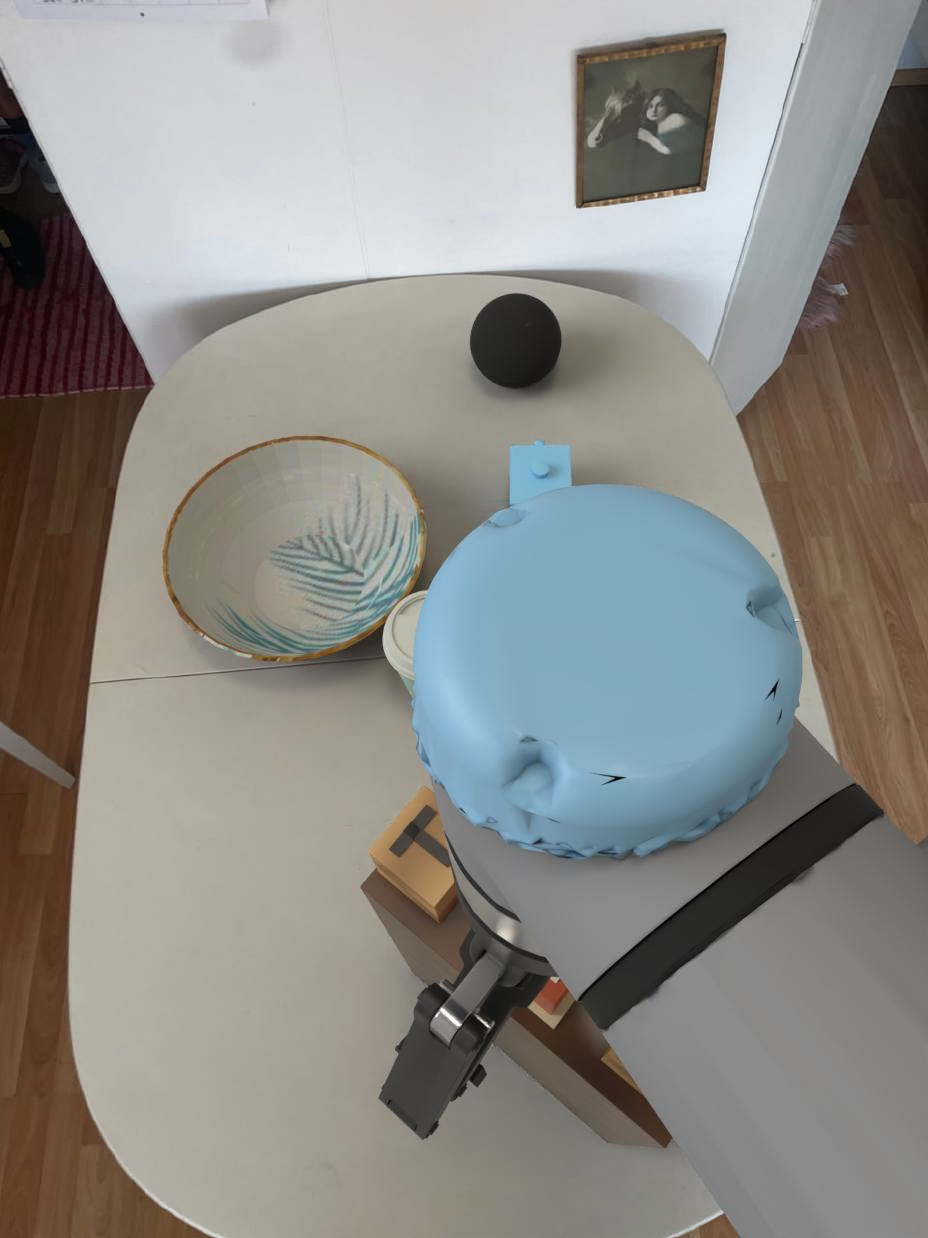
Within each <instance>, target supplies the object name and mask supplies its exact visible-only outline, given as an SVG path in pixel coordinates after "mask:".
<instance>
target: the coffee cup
mask: <svg viewBox="0 0 928 1238" xmlns="http://www.w3.org/2000/svg"><path fill="white" fill-rule="evenodd" d="M427 592H428V589H425V590H420V591H415V592H414V593H411V594H409V595H408V596H407V597H406V598H404V599H403V600H402V601H400V602H399V603H398V604H397V605H396V607H395V608H394V609H393V611H392V612H391V614H390V615H389V617H388V619H387V621H386V622H385V623H384V627H383V632H382V647H383V652H384V654H385V657H386V659H387V662H389V664H390V665H391V666H392V667H393V669H394V670H395V671H396V672H398V674H399V676H400V678H401V680H402V682H403V684H404V685H405V687H406V689H407V691H408V692H409V694H410V696H411V698H412V700H413V699H414V697H415V696H416V694H415V692H414V691H413V687H414V682H415V676H414V663H413V648H414V639H415V632H416V627H417V623H418V619H419V615H420V611H421V608H422V605H423V602H424V600H425V597H426V595H427Z"/></svg>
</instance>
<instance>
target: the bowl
mask: <svg viewBox="0 0 928 1238" xmlns="http://www.w3.org/2000/svg"><path fill="white" fill-rule="evenodd" d="M427 533H428V530H427V524H426V518H425V512H424V509H423V506H422V503H421V502H420V500H419V497H418V495H417V493H416V489H415V488H414V487H413V486H412V484H411V483H410V482H409V480H408V479H407V477H406V476H405V475H404V474H403V472H402V471H401V470H399V468H398V467H396V466H395V465H394V464H392V462H391V461H389V460H388V459H387V458H386V457H384V456H383V455H381V454H378V453H377V452H376V451H373V450H372V449H370V448H369V447H366V446H363V445H361V444H358V443H355V442H351V441H349V440H347V439H342V438H338V437H337V438H336V437H331V436H325V435H294V436H286V437H281V438H275V439H270V440H266V441H263V442H261V443H257V444H254V445H251V446H248V447H246V448H244V449H242V450H240V451H238V452H236V453H234V454H232V455H230V456H228V457H226V458H225V459H223V460H222V461H221V462H219V463H217V464H216V465H215V466H213V467H212V468H211V469H210V470H208V471H207V472H205V474H203V476H201V478H200V479H198V481H196V483H195V484H194V485H192V487H191V488H190V489H189V490H188V491H187V492H186V494H185V495H184V497H183V498H182V500H181V501H180V503H179V504H178V506H177V507H176V509H175V511H174V513H173V515H172V518H171V520H170V522H169V525H168V527H167V529H166V534H165V538H164V543H163V547H162V575H163V579H164V583H165V586H166V590H167V594H168V597H169V599H170V600H171V602H172V604H173V606H174V608H175V610H176V611H177V613H178V615H179V616H180V617H181V618H182V620H183V621H184V622H185V623H186V624H187V625H188V626H189V627H190V628H191V630H193V631H194V633H196V634H197V635H199V637H201V638H203V639H204V640H206V641H207V642H209V643H210V644H211V645H213V646H215V647H217V648H219V649H222V650H223V651H226V652H229V653H231V654H233V655H235V656H238V657H242V658H248V659H253V660H258V661H262V662H289V663H291V662H293V663H294V662H301V661H307V660H313V659H319V658H323V657H327V656H329V655H332V654H335V653H337V652H340V651H343V650H346V649H348V648H349V647H351V646H353V645H355V644H357V643H359V642H360V641H362V640H364V639H366V638H367V637H369V636H370V635H371V634H373V633H374V632H376V631H377V629H379V628H380V627H381V626H382V625H384V624H386V621H387V619H388V617H389V615H390V614H391V612H392V611H393V609H394V608H395V607H396V605H397V604H398V603H399V602H400V601H402V600H403V599H404V598H406V597H407V596H409V595H410V593H411V592H412V590H413V588H414V586H415V584H416V582H417V580H418V579H419V577H420V575H421V574H420V573H421V571H422V566H423V563H424V559H425V557H426V550H427Z"/></svg>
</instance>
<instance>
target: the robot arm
mask: <svg viewBox="0 0 928 1238" xmlns="http://www.w3.org/2000/svg"><path fill="white" fill-rule="evenodd" d="M427 590H428V592H427V595H426V597H425V600H424V602H423V605H422V608H421V611H420V615H419V619H418V623H417V627H416V632H415V639H414V648H413V663H414V676H415V682H414V687H413V691H414V692H415V694H416V696H415V697H414V699H413V698H412V700H411V702H410V705H411V709H412V712H413V715H412V720H411V727H412V730H413V732H414V733H415V738H416V740H417V741H416V747H415V750H416V753H417V755H418V758H419V760H420V762H421V765H422V766H423V767H424V769H426V771H427V772H428V774H429V779H430V782H431V786H432V790H433V792H434V794H435V798H436V802H437V806H438V810H439V814H440V818H441V822H442V826H443V831H444V835H445V840H446V844H447V849H448V853H449V857H450V864H451V869H452V873H453V878H454V883H455V887H456V892H457V895H458V899H459V902H460V905H461V907H462V910H463V912H464V914H465V916H466V918H467V920H468V922H469V924H470V926H471V929H470V931H469V932H468V934H467V936H466V938H465V939H464V941H463V943H462V945H461V946H460V950H459V952H460V956H461V958H462V961H463V964H464V966H463V968H462V970H461V972H460V973H459V975H458V977H457V979H456V980H455V982H454V984H451V983H450V982H449V981H448V980H447V979H446V978H443V979H442V980H441V981H440V982H439V984H437V983H436V982H434V983H433V984H432V985H429V986H428V985H427V987H424V988H423V990H422V991H420V992H419V994H418V995H417V997H416V1000H417V1002H416V1004H415V1005H414V1007H413V1021H412V1022H411V1025H410V1027H409V1030H408V1032H407V1034H406V1036H405V1037H404V1038H402V1040H401V1041H400V1042H399V1043H398V1045H396V1046H395V1048H394V1051H395V1052H396V1053H397V1056H396V1058H395V1059H394V1060H395V1061H394V1063H393V1065H392V1067H391V1069H390V1071H389V1074H388V1075H387V1078H386V1079H385V1082H384V1083H383V1085H382V1086H381V1091H380V1092H379V1093H380V1094H379V1095H378V1097H377V1098H378V1100H379V1101H380V1102H381V1103H382V1104H383V1105H384V1106H386V1108H388V1109H389V1111H391V1113H393V1114H394V1115H395V1116H396V1117H397V1118H398V1119H399V1120H400V1121H402V1123H403V1124H405V1125H406V1126H407V1127H408V1128H409V1130H410V1131H412V1132H413V1133H414V1135H416V1136H417V1137H418V1138H419V1139H421V1140H422V1141H424V1140H425V1139H426V1140H428V1138H429V1137H430V1136H432V1135H434V1133H435V1132H436V1131H437V1129H438V1128H439V1126H440V1124H439V1123H440V1119H441V1117H442V1116H443V1114H444V1113H445V1110H446V1109H447V1107H448V1105H449V1104H450V1102H451V1103H453V1102H454V1101H456V1100H457V1099H458V1098H461V1097H462V1096H463V1095H464V1093H465V1092H466V1091H467V1089H468V1087H467V1086H468V1082H470V1083H471V1084H472V1085H473V1086H474V1087H475V1088H476V1089H477V1088H479V1086H480V1085H481V1084H482V1082H483V1081H484V1079H485V1078H486V1077H487V1075H488V1073H487V1071H486V1069H485V1067H484V1066H483V1065H482V1064H481V1062H482V1060H483V1059H484V1057H485V1056H486V1054H487V1053H488V1051H489V1050H490V1048H491V1046H492V1045H493V1044H494V1043H493V1042H494V1040H495V1039H496V1037H497V1035H498V1034H499V1032H500V1031H501V1029H502V1028H503V1026H504V1025H505V1023H506V1021H507V1020H508V1018H509V1017H510V1015H511V1014H512V1012H513V1011H514V1009H515V1007H519V1008H527V1007H528V1006H529V1005H530V1004H531V1003H532V1002H533V1001H534V999H535V998H536V997H537V996H538V994H539V993H540V992H541V991H542V990H543V988H544V987H545V985H546V984H547V982H548V981H549V979H550V978H551V977H560V979H561V980H562V981H563V983H564V984H565V986H566V987H567V988H568V990H569V991H570V993H571V994H572V995H573V997H574V998H575V999H576V1001H577V1002H580V1001H581V1003H582V1005H583V1006H584V1008H585V1009H586V1011H587V1012H588V1014H589V1015H590V1017H591V1018H592V1020H593V1021H594V1022H595V1024H596V1025H597V1027H598V1028H599V1029H603V1030H604V1031H603V1033H602V1034H603V1035H604V1037H605V1038H606V1040H607V1041H608V1043H609V1044H610V1046H611V1047H612V1049H613V1050H614V1052H615V1053H616V1055H617V1056H618V1058H619V1059H620V1060H621V1062H622V1063H623V1065H624V1066H625V1068H626V1069H627V1071H628V1072H629V1074H630V1075H631V1077H632V1078H633V1080H634V1081H635V1083H636V1084H637V1086H638V1087H639V1089H640V1090H641V1091H642V1093H643V1094H644V1096H645V1097H646V1099H647V1100H648V1102H649V1103H650V1105H651V1106H652V1108H653V1109H654V1111H655V1112H656V1114H657V1115H658V1117H659V1118H660V1119H661V1121H662V1122H663V1124H664V1125H665V1127H666V1128H667V1130H668V1131H669V1133H670V1134H671V1136H672V1137H673V1138H672V1140H674V1141H675V1143H676V1145H677V1146H678V1147H679V1149H680V1151H681V1152H682V1153H683V1155H684V1157H685V1158H686V1160H687V1161H688V1162H689V1164H690V1166H691V1167H692V1168H693V1170H694V1171H695V1172H696V1174H697V1177H699V1178H700V1180H701V1182H702V1183H703V1184H704V1186H705V1187H706V1189H707V1191H708V1192H709V1193H710V1195H711V1196H712V1198H713V1199H714V1201H715V1202H716V1204H717V1205H718V1207H719V1208H720V1209H721V1211H722V1212H723V1214H724V1215H725V1217H726V1219H727V1220H728V1221H729V1223H730V1224H731V1226H732V1227H733V1229H734V1230H735V1231H736V1233H737V1235H738V1236H739V1238H928V835H927V836H925V837H924V838H923V839H921V841H919V842H917V843H915V842H914V841H913V840H912V839H911V838H910V837H909V836H908V835H907V834H906V833H905V832H904V831H903V830H902V829H901V828H900V827H898V825H896V823H894V822H893V820H891V819H890V818H889V816H888V815H887V814H886V812H884V808H882V807H880V805H878V803H877V802H876V801H875V800H874V799H873V798H872V796H871V795H870V794H869V792H867V791H866V790H865V789H864V788H863V787H862V785H861V784H858V783H857V782H856V781H855V780H854V779H853V777H852V776H851V775H850V774H849V773H848V772H847V771H846V770H845V768H844V767H842V765H841V764H840V763H839V762H838V761H837V759H835V758H834V756H833V755H831V754H830V753H829V751H828V750H827V749H826V748H825V747H824V746H823V745H822V743H820V741H819V740H818V739H817V738H816V737H815V736H814V734H812V732H810V730H809V729H808V728H807V727H806V726H805V725H804V724H803V723H802V722H801V721H800V720H799V719H798V717H797V716H796V715H795V714H796V710H797V709H798V708H800V706H801V705H800V700H799V699H800V695H801V690H802V684H803V683H802V682H803V645H802V643H801V641H800V636H799V632H798V629H797V624H796V620H795V616H794V613H793V611H792V608H791V604H790V601H789V599H788V596H787V595H786V592H785V591H784V589H783V588H782V585H781V582H780V580H779V576H778V574H777V573H776V572H775V570H774V569H773V567H772V565H771V564H770V563H769V561H768V560H767V559H766V558H765V557H764V555H763V554H762V553H761V552H760V551H759V549H758V548H757V547H756V546H755V545H754V544H753V543H751V541H749V540H748V538H746V537H745V536H744V535H743V534H742V532H740V531H738V530H737V529H735V528H734V526H732V525H731V524H729V523H728V522H727V521H725V520H724V519H722V518H720V517H719V516H717V515H715V514H714V513H713V512H711V511H709V510H707V509H705V508H703V507H702V506H700V505H697V504H695V503H693V502H691V501H689V500H686V499H684V498H682V497H679V496H676V495H673V494H669V493H666V492H663V491H660V490H656V489H651V488H647V487H642V486H637V485H628V484H619V483H618V484H617V483H594V484H593V483H591V484H580V485H573V486H572V487H565V488H560V489H556V490H552V491H548V492H545V493H542V494H539V495H537V496H534V497H532V498H530V499H527V500H525V501H523V502H520V503H518V504H516V505H514V506H511V507H510V506H509V507H507V508H504V509H501V510H499V511H496V512H494V514H492V515H491V516H490V517H489V518H488V519H487V520H485V521H484V522H483V523H481V524H480V525H479V526H477V527H476V528H475V529H473V530H472V531H471V532H470V533H468V535H467V536H465V537H464V538H463V539H462V540H461V541H460V542H459V543H458V544H457V546H456V547H455V548H454V549H453V550H452V552H450V554H449V555H448V556H447V558H446V559H445V560H444V561H443V563H442V565H441V566H440V568H439V569H438V571H437V573H436V574H435V576H434V577H433V579H432V581H431V583H430V585H429V587H428V589H427Z"/></svg>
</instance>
